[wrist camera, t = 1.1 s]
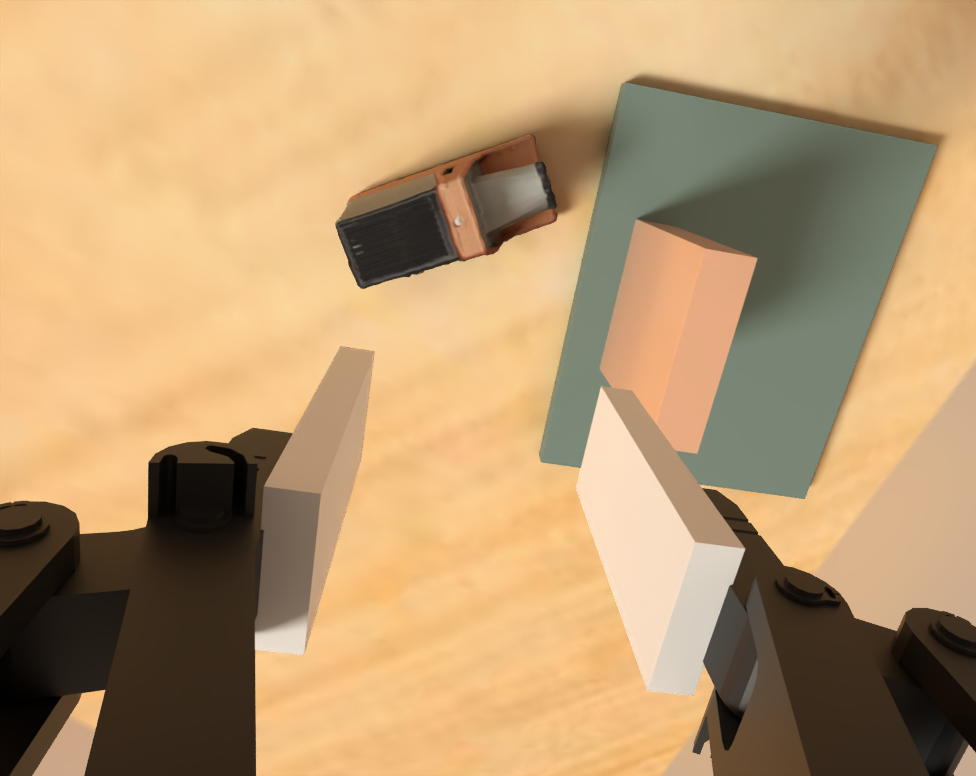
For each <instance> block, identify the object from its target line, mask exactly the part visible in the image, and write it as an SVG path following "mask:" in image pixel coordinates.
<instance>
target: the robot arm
mask: <svg viewBox="0 0 976 776" xmlns="http://www.w3.org/2000/svg"><path fill="white" fill-rule="evenodd" d="M374 352H375V351H369V350H362V349H356V348H349V347H343V346H341V347H340V349H339V350H338V352H337V354H336V356H335V358H334V360H333V361H332V363H331V365H330V367H329V369H328V370H327V372H326V374H325V376H324V378H323V380H322V381H321V383H320V385H319V387H318V389H317V390H316V392H315V394H314V396H313V398H312V400H311V401H310V403H309V405H308V407H307V409H306V410H305V412H304V414H303V416H302V418H301V420H300V421H299V423H298V425H297V427H296V429H295V430H294V432H293V433H287V432H279V431H272V430H265V429H258V428H252V429H250V430H248V431H246V432H244V433H242V434H240V435H238V436H236V437H234V438H232V440H231V441H230V442H229V444H228V443H220V442H211V441H202V442H187V443H182V444H178V445H174V446H170V447H167V448H166V449H164V450H162V451H160V452H158V453H156V454H155V455H154V456H153V457H152V459H151V460H150V461H149V467H148V521H147V525H146V527H144V528H139V529H135V530H129V531H120V532H108V533H91V534H80V530H79V521H78V519H77V516H76V513H74V512H73V511H71V510H69V509H68V508H66V507H65V506H62V505H57V504H53V503H49V502H30V501H17V502H14V503H11V502H9V503H4V504H0V776H32V775H33V773H34V772H35V770H36V769H37V767H38V765H39V764H40V762H41V760H42V759H43V757H44V756H45V754H46V753H47V751H48V749H49V748H50V746H51V745H52V743H53V741H54V740H55V738H56V737H57V735H58V733H59V732H60V730H61V729H62V727H63V725H64V724H65V722H66V721H67V719H68V718H69V716H70V714H71V713H72V711H73V710H74V708H75V706H76V705H77V703H78V702H79V700H80V697H81V694H82V693H86V692H93V691H100V690H105V694H104V698H103V702H102V706H101V710H100V714H99V718H98V722H97V727H96V731H95V735H94V739H93V743H92V747H91V751H90V755H89V759H88V763H87V767H86V771H85V775H84V776H256V721H255V650H262V651H272V652H281V653H291V654H300V655H304V653H305V650H306V647H307V643H308V640H309V636H310V633H311V629H312V626H313V623H314V619H315V616H316V612H317V609H318V605H319V602H320V598H321V595H322V592H323V588H324V585H325V581H326V578H327V574H328V571H329V568H330V564H331V561H332V557H333V554H334V550H335V547H336V543H337V540H338V537H339V533H340V530H341V526H342V523H343V519H344V516H345V513H346V509H347V506H348V502H349V499H350V495H351V492H352V488H353V485H354V482H355V478H356V475H357V471H358V468H359V464H360V461H361V455H362V448H363V440H364V432H365V424H366V416H367V408H368V400H369V392H370V384H371V376H372V368H373V360H374ZM576 490H577V493H578V496H579V499H580V502H581V504H582V507H583V510H584V513H585V516H586V519H587V521H588V524H589V527H590V530H591V533H592V536H593V538H594V541H595V544H596V547H597V550H598V553H599V555H600V558H601V561H602V564H603V567H604V570H605V573H606V575H607V578H608V581H609V584H610V587H611V590H612V592H613V595H614V598H615V601H616V604H617V607H618V609H619V612H620V615H621V618H622V621H623V624H624V626H625V629H626V632H627V635H628V638H629V641H630V643H631V646H632V649H633V652H634V655H635V658H636V660H637V663H638V666H639V669H640V672H641V675H642V677H643V680H644V683H645V686H646V689H647V691H653V692H662V693H672V694H681V695H691V696H693V695H694V693H695V690H696V687H697V684H698V681H699V678H700V676H701V673H702V670H703V667H704V665H705V667H706V669H707V671H708V673H709V675H710V678H711V680H712V682H713V684H714V686H715V687H714V689H713V692H712V695H711V698H710V700H709V703H708V706H707V709H706V711H705V714H704V717H703V720H702V722H701V725H700V728H699V730H698V733H697V736H696V739H695V742H694V747H693V752H694V753H697V754H700V753H701V750H702V747H703V745H704V743H705V742H706V741H708V740H710V749H711V758H712V766H713V775H714V776H954V775H953V773H954V771H955V769H956V767H957V765H958V764H959V762H960V760H961V758H962V756H963V754H964V753H965V751H966V749H967V747H968V745H970V746H971V747H972V748H973V750H974V751H975V752H976V627H975V626H973V625H971V623H970V622H969V621H967V620H965V619H963V618H961V617H958V616H957V617H955V615H954V614H951V613H948V612H945V611H942V612H941V611H937V610H933V609H929V608H912V609H911V610H909V611H907V612H906V613H905V615H904V617H903V619H902V621H901V624H900V626H899V628H898V630H897V631H894V630H891V629H888V628H885V627H882V626H878V625H875V624H872V623H869V622H866V621H862V620H859V619H856V618H854V616H853V614H852V612H851V610H850V608H849V606H848V604H847V602H846V601H845V600H844V598H843V597H842V596H841V594H840V593H839V592H838V591H836V590H835V589H834V588H833V587H831V586H830V585H829V584H827V583H826V582H824V581H823V580H820V579H819V578H817V577H815V576H813V575H811V574H810V573H807V572H804V571H801V570H798V569H796V568H793V567H787V566H784V565H783V564H782V563H781V561H780V560H779V559H778V557H777V556H776V555H775V554H774V552H773V551H772V550H771V548H770V547H769V546H768V545H767V543H766V542H765V541H764V539H763V538H762V537H761V536H759V535H758V532H757V530H756V529H755V528H754V527H753V525H752V524H751V523H748V519H747V518H746V516H745V515H744V514H743V512H742V511H741V510H740V509H739V507H738V506H737V505H736V504H735V503H733V502H732V501H731V500H729V499H728V498H726V497H725V496H724V495H722V494H721V493H720V492H718V491H717V490H712V489H705V488H701V486H700V485H699V483H698V482H697V481H696V479H695V478H694V476H693V475H692V474H691V472H690V471H689V469H688V468H687V467H686V465H685V464H684V462H683V461H682V460H681V458H680V457H679V455H678V454H677V453H676V451H675V450H674V449H673V447H672V446H671V444H670V443H669V442H668V440H667V439H666V437H665V436H664V435H663V433H662V432H661V430H660V429H659V428H658V426H657V425H656V423H655V422H654V421H653V419H652V418H651V416H650V415H649V414H648V412H647V411H646V409H645V408H644V407H643V405H642V404H641V402H640V401H639V400H638V398H637V397H636V395H635V394H634V393H633V391H630V390H624V389H617V388H611V387H604V386H601V388H600V392H599V396H598V400H597V405H596V409H595V413H594V417H593V421H592V425H591V429H590V433H589V437H588V441H587V445H586V449H585V453H584V457H583V461H582V465H581V469H580V473H579V477H578V481H577V485H576Z"/></svg>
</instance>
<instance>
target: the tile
mask: <svg viewBox="0 0 976 776" xmlns="http://www.w3.org/2000/svg"><path fill="white" fill-rule="evenodd" d="M757 259H758V258H757V257H754V256H751V255H749V254H746V253H743V252H741V251H738V250H736V249H733V248H730V247H728V246H725V245H723V244H720V243H717V242H715V241H712V240H710V239H707V238H704V237H702V236H699V235H696V234H694V233H691V232H689V231H686V230H683V229H681V228H678V227H676V226H672V225H666V224H661V223H655V222H650V221H644V220H639V219H636V220H635V224H634V229H633V233H632V237H631V241H630V245H629V249H628V253H627V257H626V261H625V265H624V270H623V274H622V278H621V282H620V286H619V290H618V294H617V298H616V302H615V306H614V311H613V315H612V319H611V323H610V327H609V331H608V335H607V339H606V343H605V347H604V352H603V356H602V360H601V364H600V368H599V369H600V370H601V372H602V373H603V375H604V376H605V378H606V379H607V381H608V383H609V384H610V386H611V387H612V388H617V389H624V390H630V391H633V393H634V394H635V395H636V397H637V398H638V400H639V401H640V402H641V404H642V405H643V407H644V408H645V409H646V411H647V412H648V414H649V415H650V416H651V418H652V419H653V421H654V422H655V423H656V425H657V426H658V428H659V429H660V430H661V432H662V433H663V435H664V436H665V437H666V439H667V440H668V442H669V443H670V444H671V446H672V447H673V449H674V450H675V451H682V452H688V453H695V454H697V453H698V450H699V446H700V443H701V440H702V437H703V433H704V430H705V427H706V424H707V421H708V417H709V414H710V411H711V408H712V404H713V401H714V398H715V395H716V391H717V388H718V385H719V382H720V378H721V375H722V372H723V369H724V365H725V362H726V359H727V356H728V353H729V349H730V346H731V343H732V340H733V336H734V333H735V330H736V327H737V323H738V320H739V317H740V314H741V310H742V307H743V304H744V301H745V297H746V294H747V291H748V288H749V285H750V281H751V278H752V275H753V272H754V268H755V265H756V262H757Z"/></svg>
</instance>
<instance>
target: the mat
mask: <svg viewBox="0 0 976 776" xmlns="http://www.w3.org/2000/svg"><path fill="white" fill-rule="evenodd" d="M937 147H938V145H933V144H928V143H923V142H918V141H913V140H908V139H903V138H898V137H894V136H889V135H884V134H879V133H874V132H869V131H864V130H859V129H854V128H849V127H844V126H839V125H834V124H829V123H824V122H819V121H814V120H810V119H805V118H800V117H795V116H790V115H785V114H780V113H775V112H770V111H765V110H760V109H755V108H750V107H745V106H740V105H735V104H731V103H726V102H721V101H716V100H711V99H706V98H701V97H696V96H691V95H686V94H681V93H676V92H671V91H666V90H661V89H656V88H651V87H647V86H642V85H637V84H632V83H627V82H626V83H623V84H621V88H620V93H619V97H618V102H617V106H616V111H615V115H614V120H613V124H612V129H611V133H610V138H609V142H608V147H607V151H606V156H605V160H604V165H603V169H602V174H601V178H600V183H599V187H598V192H597V196H596V201H595V205H594V210H593V214H592V219H591V223H590V228H589V232H588V237H587V241H586V246H585V250H584V255H583V259H582V264H581V268H580V273H579V277H578V282H577V286H576V291H575V295H574V300H573V304H572V309H571V313H570V318H569V322H568V327H567V331H566V336H565V340H564V345H563V349H562V354H561V358H560V363H559V367H558V372H557V376H556V381H555V385H554V390H553V394H552V399H551V403H550V408H549V412H548V416H547V421H546V425H545V430H544V434H543V439H542V443H541V448H540V452H539V456H540V460H541V462H543V463H550V464H558V465H565V466H572V467H579V468H581V465H582V461H583V457H584V453H585V449H586V445H587V441H588V437H589V433H590V429H591V425H592V421H593V417H594V413H595V409H596V405H597V400H598V396H599V392H600V388H601V386H604V387H611V386H610V384H609V383H608V381H607V379H606V378H605V376H604V375H603V373H602V372H601V370H600V369H599V368H600V364H601V360H602V356H603V352H604V347H605V343H606V339H607V335H608V331H609V327H610V323H611V319H612V315H613V311H614V306H615V302H616V298H617V294H618V290H619V286H620V282H621V278H622V274H623V270H624V265H625V261H626V257H627V253H628V249H629V245H630V241H631V237H632V233H633V229H634V224H635V220H636V219H639V220H644V221H650V222H655V223H661V224H666V225H672V226H676V227H678V228H681V229H683V230H686V231H689V232H691V233H694V234H696V235H699V236H702V237H704V238H707V239H710V240H712V241H715V242H717V243H720V244H723V245H725V246H728V247H730V248H733V249H736V250H738V251H741V252H743V253H746V254H749V255H751V256H754V257H757V258H758V259H757V262H756V265H755V268H754V272H753V275H752V278H751V281H750V285H749V288H748V291H747V294H746V297H745V301H744V304H743V307H742V310H741V314H740V317H739V320H738V323H737V327H736V330H735V333H734V336H733V340H732V343H731V346H730V349H729V353H728V356H727V359H726V362H725V365H724V369H723V372H722V375H721V378H720V382H719V385H718V388H717V391H716V395H715V398H714V401H713V404H712V408H711V411H710V414H709V417H708V421H707V424H706V427H705V430H704V433H703V437H702V440H701V443H700V446H699V450H698V453H697V454H695V453H688V452H682V451H676V453H677V454H678V455H679V457H680V458H681V460H682V461H683V462H684V464H685V465H686V467H687V468H688V469H689V471H690V472H691V474H692V475H693V476H694V478H695V479H696V481H697V482H698V483H699V484H701V485H708V486H715V487H722V488H730V489H737V490H744V491H751V492H758V493H765V494H773V495H780V496H787V497H794V498H801V499H805V497H806V494H807V492H808V489H809V486H810V484H811V481H812V478H813V476H814V473H815V470H816V468H817V465H818V462H819V460H820V457H821V454H822V452H823V449H824V446H825V444H826V441H827V439H828V436H829V433H830V431H831V428H832V425H833V423H834V420H835V417H836V415H837V412H838V409H839V407H840V404H841V401H842V399H843V396H844V393H845V391H846V388H847V385H848V383H849V380H850V377H851V375H852V372H853V370H854V367H855V364H856V362H857V359H858V356H859V354H860V351H861V348H862V346H863V343H864V340H865V338H866V335H867V332H868V330H869V327H870V324H871V322H872V319H873V316H874V314H875V311H876V309H877V306H878V303H879V301H880V298H881V295H882V293H883V290H884V287H885V285H886V282H887V279H888V277H889V274H890V271H891V269H892V266H893V263H894V261H895V258H896V255H897V253H898V250H899V248H900V245H901V242H902V240H903V237H904V234H905V232H906V229H907V226H908V224H909V221H910V218H911V216H912V213H913V210H914V208H915V205H916V202H917V200H918V197H919V194H920V192H921V189H922V186H923V184H924V181H925V179H926V176H927V173H928V171H929V168H930V165H931V163H932V160H933V157H934V155H935V152H936V149H937ZM611 388H612V387H611Z"/></svg>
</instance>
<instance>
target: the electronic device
mask: <svg viewBox="0 0 976 776" xmlns="http://www.w3.org/2000/svg"><path fill="white" fill-rule="evenodd" d="M556 207H557V204H556V201H555V196H554V194H553V192H552V190H551V185H550V180H549V179H548V177H547V174H546V167H545V165H544V163H543V162H540V158H539V155H538V151H537V147H536V143H535V137H534V136H533V135H531V134H527V135H524V136H522V137H520V138H517V139H514V140H512V141H509V142H506V143H504V144H501V145H498V146H495V147H492V148H489V149H487V150H484V151H481V152H478V153H475V154H472V155H469V156H466V157H463V158H460V159H457V160H454V161H451V162H448V163H445V164H440V165H438V166H436V167H434V168H431V169H428V170H425V171H423V172H420V173H417V174H413V175H410V176H408V177H405V178H402V179H400V180H397V181H390V182H389V183H387V184H385V185H382V186H379V187H376V188H373V189H371V190H368V191H365V192H362V193H358V194H356V195H354V196H352V197H351V198H350V199H349V200H348V204H347V207H346V209H345V211H344V212H343V214H342V216H341V217H340V218H339V219H338V220H337V221H336V223H335V226H336V229H337V231H338V235H339V238H340V240H341V243H342V246H343V248H344V251H345V253H346V256H347V258H348V264H349V267H350V269H351V271H352V273H353V275H354V277H355V280H356V282H357V285H358V286H359V287H360V288H361V289H365V288H367V287H370V286H373V285H378V284H380V283H382V282H386V281H389V280H393V279H396V278H400V277H410V276H411V275H412V274H416V275H417V274H420V273H423V272H424V270H429V269H433V268H435V267H438V266H441V265H446V264H450V263H452V262H455V261H458V260H459V261H466V260H469V259H472V258H475V257H478V256H482V255H490V254H494V253H495V252H497V251H498V250H499V248H500V246H501V245H502V244H503V242H506V241H508V240H509V239H511V238H512V237H514V236H516V235H521V234H523V233H527V232H529V231H531V230H533V229H536V228H540V227H542V226H545V225H548V224H551V223H553V222H555V221H556V220H557V213H556V212H555V211H554V209H555V208H556Z"/></svg>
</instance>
